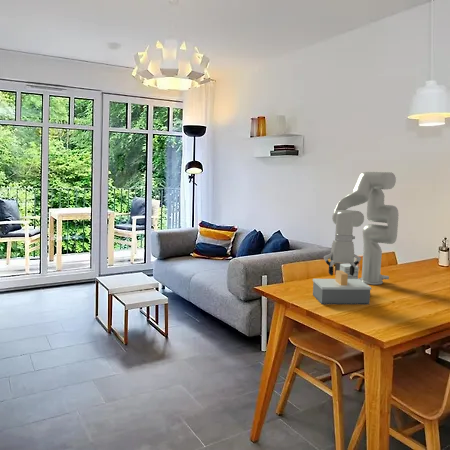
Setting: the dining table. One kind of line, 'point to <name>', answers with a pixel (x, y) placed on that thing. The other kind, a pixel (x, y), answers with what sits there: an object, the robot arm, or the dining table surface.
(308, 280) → the dining table surface
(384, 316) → the dining table surface
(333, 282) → the lid
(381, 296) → the dining table surface
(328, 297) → the tub
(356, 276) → the supplement box
